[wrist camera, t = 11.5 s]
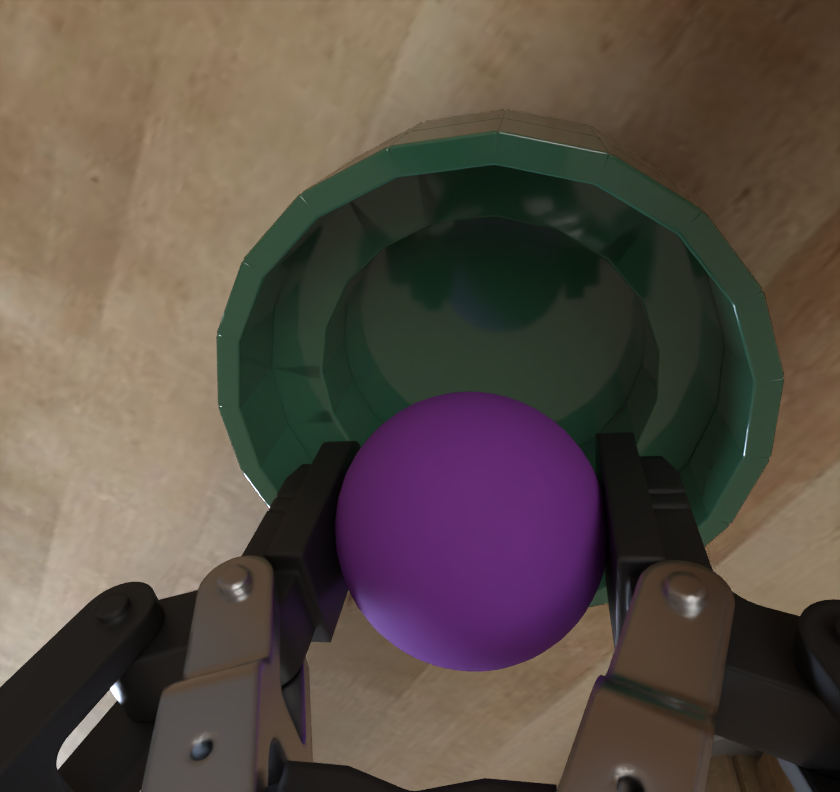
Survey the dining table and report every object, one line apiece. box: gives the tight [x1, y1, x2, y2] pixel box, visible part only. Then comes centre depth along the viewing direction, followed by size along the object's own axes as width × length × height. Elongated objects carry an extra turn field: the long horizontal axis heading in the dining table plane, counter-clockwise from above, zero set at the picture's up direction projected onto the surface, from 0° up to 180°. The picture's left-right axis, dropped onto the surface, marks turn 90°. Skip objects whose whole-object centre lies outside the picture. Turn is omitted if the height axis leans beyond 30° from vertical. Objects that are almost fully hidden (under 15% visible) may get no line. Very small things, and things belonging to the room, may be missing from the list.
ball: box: [335, 392, 607, 671], centre depth 12 cm, size 5×5×5 cm
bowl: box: [217, 109, 784, 607], centre depth 16 cm, size 13×13×5 cm
